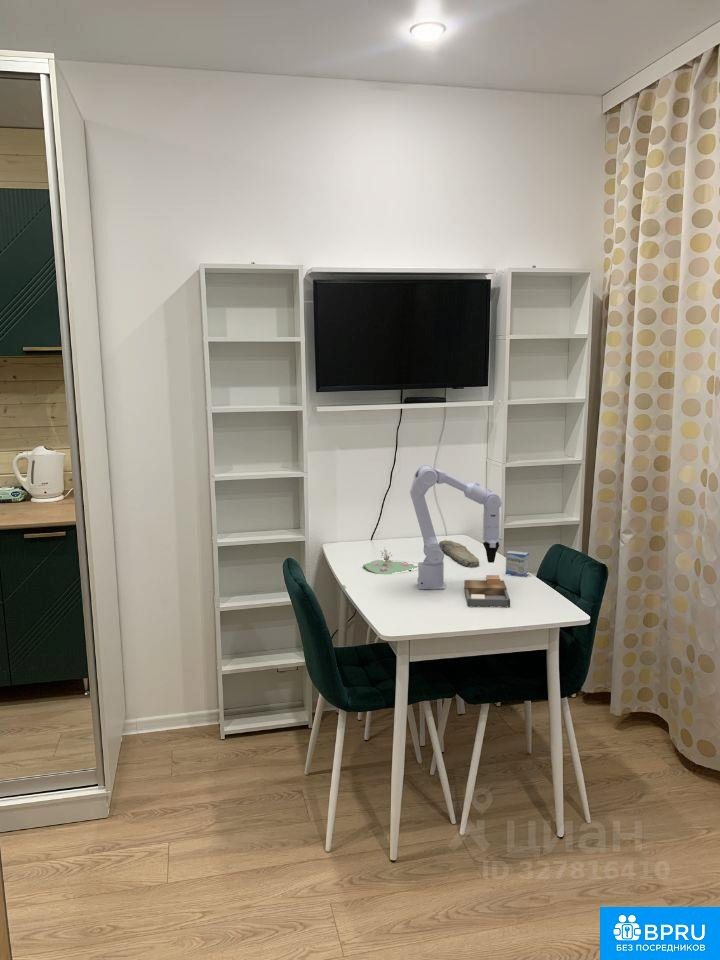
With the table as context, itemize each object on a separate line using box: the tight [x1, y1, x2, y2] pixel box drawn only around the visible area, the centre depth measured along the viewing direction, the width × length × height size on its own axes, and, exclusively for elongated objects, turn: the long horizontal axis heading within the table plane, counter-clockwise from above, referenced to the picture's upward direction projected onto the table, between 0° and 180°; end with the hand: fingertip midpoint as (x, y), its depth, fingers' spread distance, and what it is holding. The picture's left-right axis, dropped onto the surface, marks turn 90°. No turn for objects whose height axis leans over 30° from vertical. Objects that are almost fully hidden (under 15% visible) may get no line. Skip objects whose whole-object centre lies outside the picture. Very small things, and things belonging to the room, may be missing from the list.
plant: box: [363, 548, 418, 575], centre depth 297 cm, size 25×21×9 cm
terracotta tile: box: [485, 574, 501, 584], centre depth 265 cm, size 4×4×2 cm
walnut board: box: [463, 579, 508, 596], centre depth 264 cm, size 14×9×3 cm, turn 85°
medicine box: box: [505, 550, 530, 577], centre depth 284 cm, size 8×4×9 cm, turn 62°
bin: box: [465, 589, 511, 608], centre depth 254 cm, size 14×11×2 cm
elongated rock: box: [438, 539, 480, 568], centre depth 311 cm, size 35×5×10 cm
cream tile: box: [471, 594, 485, 599], centre depth 252 cm, size 4×4×2 cm
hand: (490, 562), depth 271 cm, fingers closed
